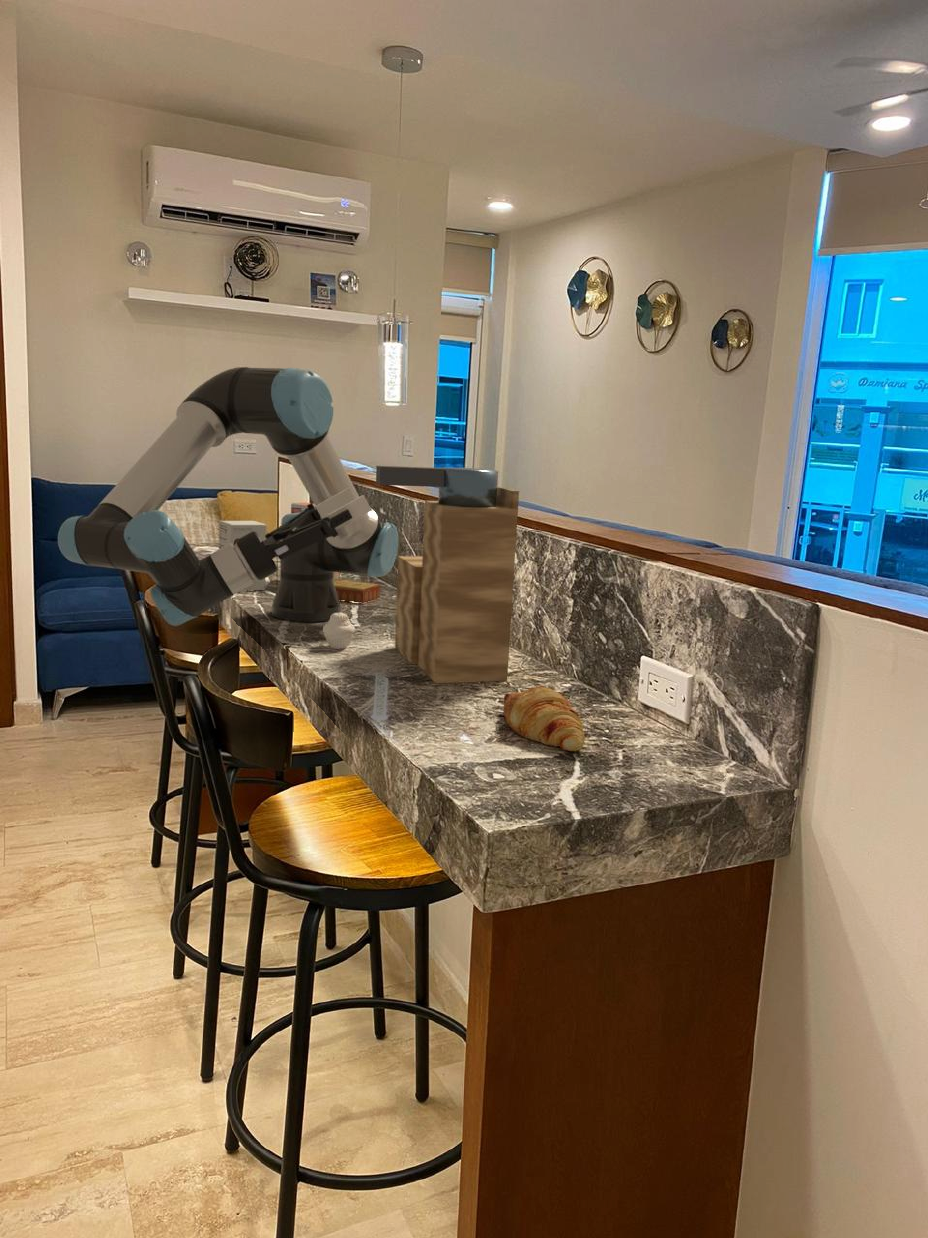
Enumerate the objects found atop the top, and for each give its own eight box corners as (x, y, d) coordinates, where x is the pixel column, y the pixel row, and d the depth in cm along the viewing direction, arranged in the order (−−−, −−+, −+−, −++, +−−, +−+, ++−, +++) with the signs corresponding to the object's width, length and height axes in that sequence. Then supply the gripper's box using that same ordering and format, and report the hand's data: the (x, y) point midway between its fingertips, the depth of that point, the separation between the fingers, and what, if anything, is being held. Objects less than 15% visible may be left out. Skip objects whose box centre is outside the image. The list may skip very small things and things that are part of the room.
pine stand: (395, 647, 184) (401, 477, 177) (463, 645, 188) (471, 479, 181) (430, 683, 160) (438, 488, 153) (507, 680, 164) (519, 491, 157)
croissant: (594, 778, 130) (621, 727, 130) (542, 753, 125) (570, 700, 125) (519, 728, 148) (543, 683, 149) (471, 704, 143) (496, 658, 144)
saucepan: (371, 499, 161) (372, 464, 160) (485, 502, 167) (487, 468, 166) (383, 505, 152) (385, 467, 150) (504, 508, 158) (506, 472, 157)
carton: (362, 606, 224) (363, 588, 223) (306, 598, 230) (306, 580, 230) (380, 600, 231) (380, 583, 231) (325, 592, 238) (325, 576, 237)
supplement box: (229, 592, 230) (229, 524, 226) (217, 586, 237) (217, 520, 234) (266, 590, 235) (267, 523, 232) (253, 584, 242) (253, 519, 239)
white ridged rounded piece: (320, 643, 184) (321, 608, 182) (352, 643, 185) (353, 608, 184) (324, 651, 178) (325, 615, 176) (356, 650, 179) (357, 615, 178)
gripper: (251, 569, 165) (356, 510, 168) (264, 596, 141) (386, 527, 145) (229, 532, 162) (336, 473, 165) (239, 553, 139) (363, 484, 142)
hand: (359, 498), depth 155 cm, fingers open, 13 cm apart
